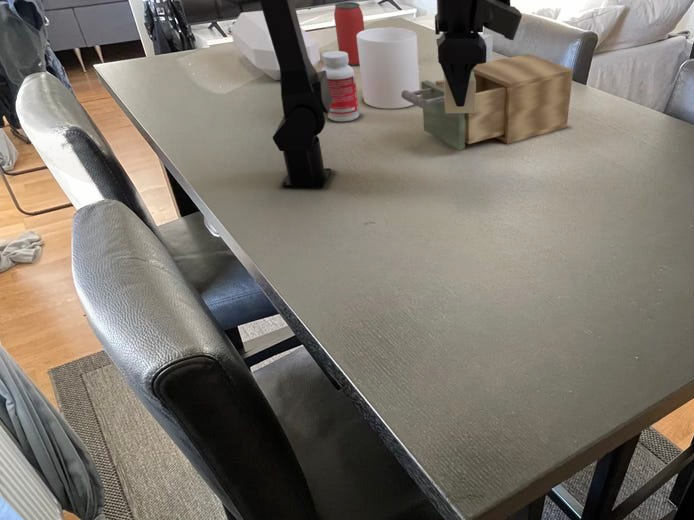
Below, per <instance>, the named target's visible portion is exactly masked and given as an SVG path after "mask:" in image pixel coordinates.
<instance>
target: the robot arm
mask: <svg viewBox="0 0 694 520" xmlns="http://www.w3.org/2000/svg"><path fill="white" fill-rule="evenodd" d="M258 1H259V5H260V7H261V11H263V14H264V17H265V21H266V24H267V27H268V31H269V34H270V37H271V41H272V44H273V47H274V50H275V54H276V57H277V60H278V64H279V67H280V79H281V80H280V98H281V104H282V111H283V116H282V119H281V121H280V123H279V124H278V126H277V128H276V130H275V132H274V134H273V135H272V140H273V142H274V144H275V145H276V147H277V149H278V150H279V152H282V154H283V159H284V165H285V167H286V172H287V174H286V176H285V177H284V179H283V181H282V182H281V186H282V188H299V189H300V188H304V189H305V188H306V189H323V188H324V187H325V186H326V184H327V181H328V180H329V178H330V176H331V175H332V168H329V167H325V165H324V160H323V154H322V148H321V142H320V138H319V136H318V135H320V134H321V133H322V131H323V130H324V128H325V126H326V124H327V120H328V119H329V117H328V115H329V112H330V106H331V103H332V101H333V96H332V94H331V93H330V91H329V88H328V84H327V74H326V71H325V70H324V71H321V70H320V71H318V72H317V70H316V68H314V67H313V65H312V64H311V62H310V60H309V57H308V54H307V50H306V47H305V43H304V39H303V35H302V32H301V28H302V27H301V24H300V21H299V17H298V14H297V10H296V6H295V3H294V0H258ZM522 18H523V14H522V13H521V11H520V10H519V9H517V8H516V6H512V5H511V0H436V13H435V15H434V33H435V35H440V37H439V38H436V46H437V60H438V64H439V65H440V67H441V70H442V72H443V76H444V75H445V77H446V80H447V82H448V85H449V87H450V90H451V93H452V95H453V98H454V100H455V103H456V106H457V107H463V106H464V104H465V99H466V95H467V90H468V85H469V80H470V75H471V71H472V69H473V68H474V67H475V66H476V65H477V64H483V63H486V51H487V46H486V44H485V41H484V39H483V38H482V37H481V36H480V35H479V34H481V33H484V28H485V29H486V30H489V31H492V32H494V33H496V34H499V35H501V36H503V38H505V39H506V40H509V41H514V40H515V38H516V34H517V32H518V29H519V26H520V23H521V21H522ZM300 27H301V28H300ZM441 33H442V34H441Z"/></svg>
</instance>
